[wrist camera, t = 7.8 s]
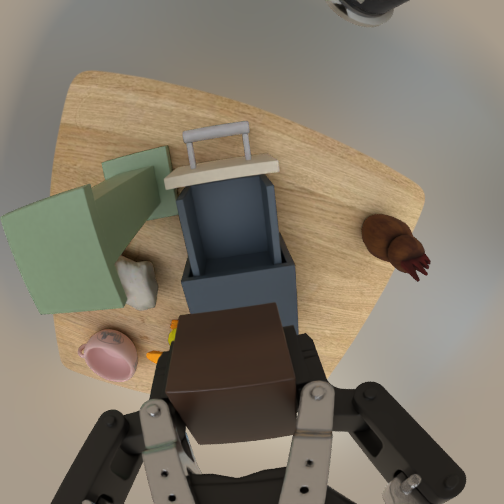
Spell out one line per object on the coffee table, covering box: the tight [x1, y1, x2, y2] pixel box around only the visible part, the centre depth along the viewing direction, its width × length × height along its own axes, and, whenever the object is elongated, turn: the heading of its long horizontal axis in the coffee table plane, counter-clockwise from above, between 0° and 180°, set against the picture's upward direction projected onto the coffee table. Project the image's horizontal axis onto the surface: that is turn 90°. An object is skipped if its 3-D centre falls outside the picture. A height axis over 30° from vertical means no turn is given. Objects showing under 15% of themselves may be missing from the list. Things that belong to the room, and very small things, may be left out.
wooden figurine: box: [362, 214, 430, 282], centre depth 33 cm, size 7×6×15 cm
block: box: [165, 302, 297, 445], centre depth 11 cm, size 4×4×4 cm
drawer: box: [164, 121, 282, 277], centre depth 32 cm, size 18×11×8 cm, turn 7°
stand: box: [0, 145, 179, 315], centre depth 25 cm, size 9×9×22 cm
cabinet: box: [181, 233, 299, 335], centre depth 38 cm, size 15×13×10 cm
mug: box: [78, 329, 138, 382], centre depth 43 cm, size 12×10×6 cm
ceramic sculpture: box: [115, 255, 158, 311], centre depth 35 cm, size 11×9×15 cm
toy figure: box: [146, 320, 178, 364], centre depth 39 cm, size 7×4×12 cm, turn 72°
